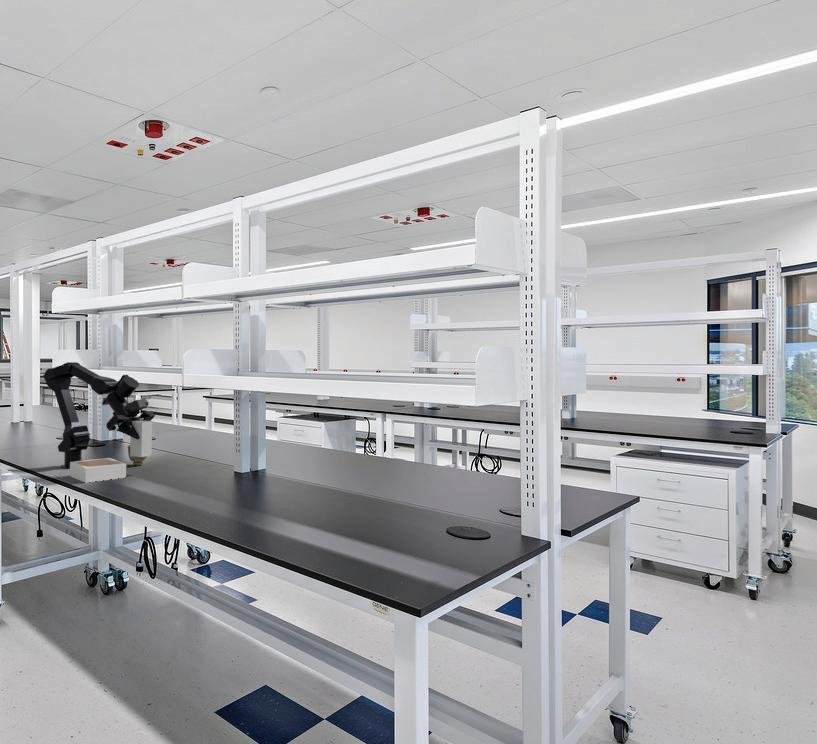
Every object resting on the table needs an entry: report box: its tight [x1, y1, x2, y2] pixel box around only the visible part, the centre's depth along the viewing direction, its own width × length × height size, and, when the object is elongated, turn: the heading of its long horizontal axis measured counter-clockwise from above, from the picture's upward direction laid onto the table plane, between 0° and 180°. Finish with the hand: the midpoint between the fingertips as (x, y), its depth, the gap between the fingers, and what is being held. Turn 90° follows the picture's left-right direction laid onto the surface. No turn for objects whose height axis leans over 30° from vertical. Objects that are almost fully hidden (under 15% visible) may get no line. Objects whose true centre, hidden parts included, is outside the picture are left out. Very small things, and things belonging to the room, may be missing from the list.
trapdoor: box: [77, 458, 120, 467], centre depth 204 cm, size 12×10×4 cm
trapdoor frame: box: [69, 457, 127, 484], centre depth 204 cm, size 15×13×5 cm
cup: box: [127, 444, 147, 467], centre depth 226 cm, size 8×7×8 cm
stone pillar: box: [129, 420, 153, 457], centre depth 210 cm, size 5×5×12 cm
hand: (144, 437), depth 209 cm, fingers closed on stone pillar, 5 cm apart
